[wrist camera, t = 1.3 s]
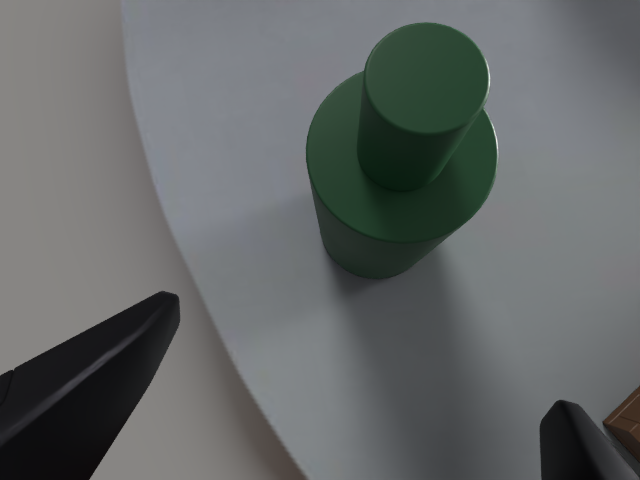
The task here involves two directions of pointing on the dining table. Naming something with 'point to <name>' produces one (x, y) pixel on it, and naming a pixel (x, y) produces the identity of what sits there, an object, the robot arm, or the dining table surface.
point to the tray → (627, 423)
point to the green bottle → (402, 150)
